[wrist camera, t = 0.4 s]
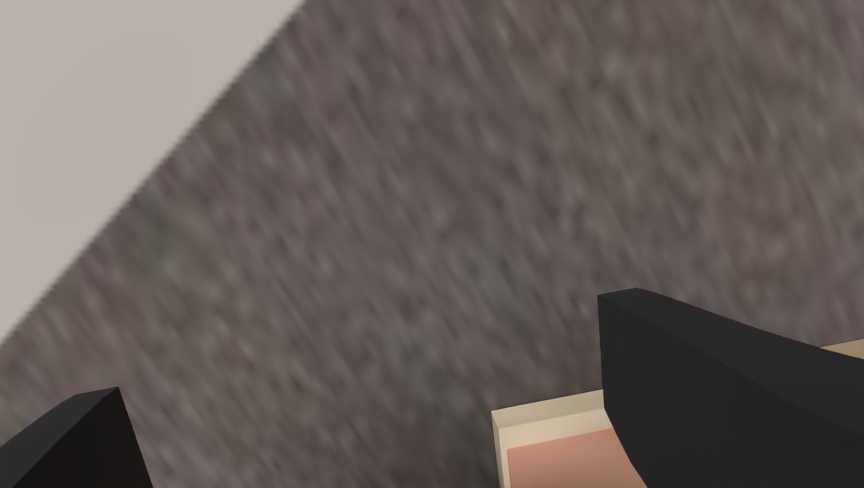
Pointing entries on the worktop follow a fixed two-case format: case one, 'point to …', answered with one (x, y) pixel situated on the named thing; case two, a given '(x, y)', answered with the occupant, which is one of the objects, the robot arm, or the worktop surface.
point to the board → (572, 442)
